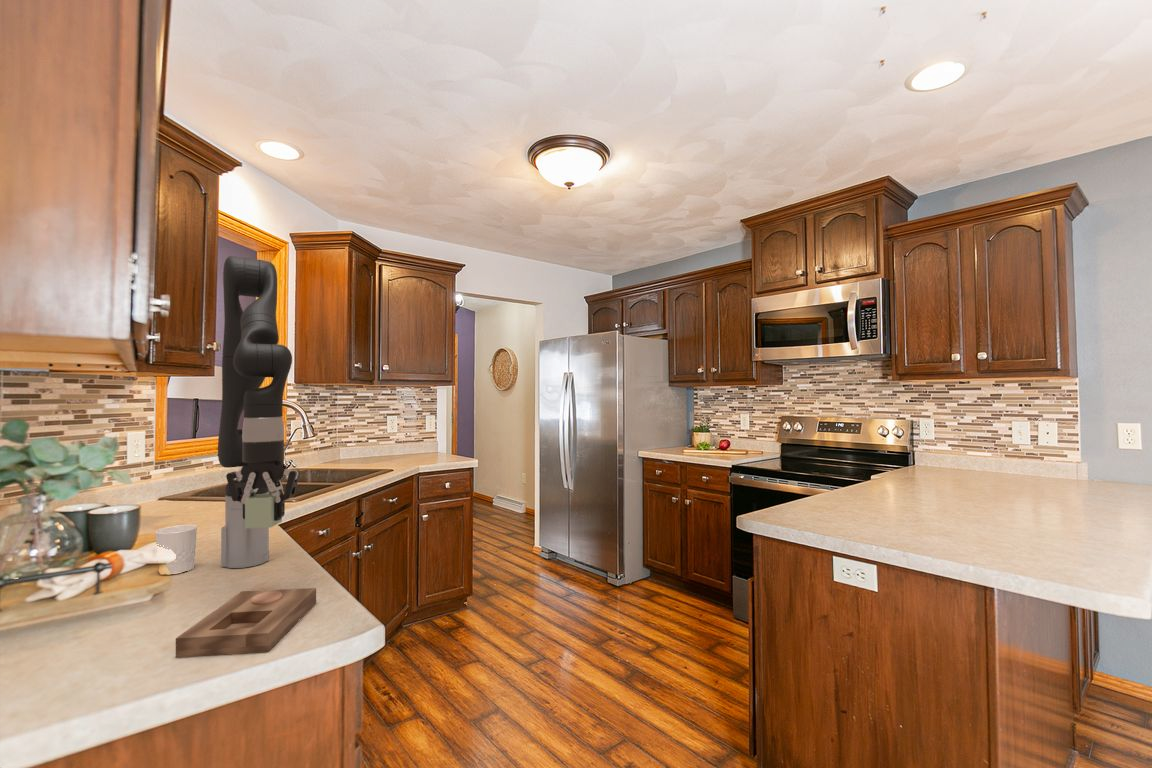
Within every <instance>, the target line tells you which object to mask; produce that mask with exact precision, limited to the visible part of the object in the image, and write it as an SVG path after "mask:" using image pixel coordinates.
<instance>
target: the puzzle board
mask: <svg viewBox="0 0 1152 768" xmlns="http://www.w3.org/2000/svg"><path fill="white" fill-rule="evenodd" d="M316 604H317V587H305V588H286V589H285V588H283V589H267V590H266V589H265V590H250V591H249V590H246V591H245V590H244V591H240V592H239V593H238V594H236V595H234V597H232V598H230V599H229V600H228V601H226V602H225V603H224V604H222V605H220V606H219V607H218V608H217V609H215V610H213V611H212V612H211V613H209V614H207V615H206V616H205V617H204V618H202V619H200V621H198V622H197V623H195V624H194V625H192V626H191V627H190V628H188V629H187V630H185V631H183V633H181V634H179V635H178V636H177V637H175V658H189V657H203V656H206V657H207V656H219V655H235V654H236V655H238V654H239V655H240V654H253V653H254V654H255V653H268V652H270V651H271V650H272V649H273V648H274V647H275V646H276V645H277V644H278V643H279V642H280V641H281V640H280V639H281V638H282V637H283V636H284V635H285V636H286V635H287V634H288V632H290V630H291V629H292V628H293V627H295V625H296V624H297V623H298V622H299V621H300V620H301V619H302V618H303V617H304V616H305V615H306V614H307V613H308V612H309V611H310V610H311V609H312V608H314V606H315V605H316ZM304 614H305V615H304ZM300 618H301V619H300ZM299 619H300V620H299ZM298 620H299V621H298ZM294 624H295V625H294ZM291 627H292V628H291ZM285 636H284V637H285ZM282 639H283V638H282ZM279 640H280V641H279ZM278 641H279V642H278ZM277 642H278V643H277Z"/></svg>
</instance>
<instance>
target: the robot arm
mask: <svg viewBox="0 0 1152 768" xmlns="http://www.w3.org/2000/svg"><path fill="white" fill-rule="evenodd" d="M222 270H223V272H222V280H223V281H222V282H223V283H222V284H223V285H222V286H223V309H224V310H223V311H224V314H223V315H224V316H223V317H224V326H223V327H224V328H223V329H224V330H223V343H222V344H223V345H222V357H221V358H222V361H221V378H222V379H221V387H222V388H221V389H222V390H221V393H222V394H221V411H220V412H221V413H220V420H219V430H218V431H219V432H218V440H217V458H218V462H219V464H220V466H221V467H223V468H230V469H231V468H239V467H241V469H240V470H238V471H237V470H236V471H232V472H228V473H227V474H226V475H225V477H226V481H227V483H226V485H225V487H224V488H225V489H224V490H225V491H224V493H225V494H224V495H225V497H224V499H225V502H224V503H225V505H224V506H225V514H224V515H225V517H224V518H225V520H224V521H225V524H224V526H222V527H221V529H220V530H221V532H220V535H221V537H220V538H221V540H220V542H221V544H220V547H221V548H220V550H221V552H220V554H221V555H220V557H221V558H220V559H221V561H220V563H221V565H220V567H221V568H229V569H242V568H243V569H244V568H251V567H254V566H259V565H261V564H264V563H266V562H268V561H269V558H270V527H268V528H245V499H246V498H249V497H251V496H254V495H256V494H272V496H273V497H274V501H275V502H276V503H274V521H279V520H280V519H282V520H283V517H285V514H286V513H285V510H286V507H285V506H286V505H285V503H286V500H289V499H291V498H293V497H294V496H295V495H296V490H297V486H298V482H299V478H300V474H301V471H300V470H299V469H294V470H293V469H290V468H287V467H286V465H285V426H284V425H285V424H284V418H283V415H284V414H283V400H284V392H285V387H286V382H287V379H288V376H289V374H290V371H291V367H292V363H293V355H292V352H291V350H290V349H289V348H288V347H287V346H286V345H283V344H279V338H280V336H279V330H278V322H277V304H278V272H277V269H276V267H275V264H273V262H270V261H268V260H263V259H257V258H249V257H244V256H243V257H242V256H233V255H231V256H227V257H226V259H225V260H224V264H223V269H222ZM240 296H243V297H252V298H256V299H255V300H254V301H252V302H251V303H250V304H249V305H247V307H246V308H245V309H244V310H243V308H242V304H241V302H240ZM266 378H272V380H271V382H270V383H269V384H268V385H267V386H263V387H261V386H262V384H263V383H264V382H265V379H266ZM242 414H243V423H242V428H240V429H238V427H239V422H240V420H241V417H242ZM284 475H285V480H287V481H286V485H285V489H284V487H283V484H282V482H281V480H282V478H283V477H284Z"/></svg>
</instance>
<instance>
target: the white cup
mask: <svg viewBox="0 0 1152 768" xmlns="http://www.w3.org/2000/svg"><path fill="white" fill-rule="evenodd" d="M197 530H198V525H195V524H182V525H181V524H180V525H174V526H168V527H163V528H160V529H157V530H156V531H155V545H156V544H159V545H157V546H159V547H163V545H164V547H163V548H165V549H168V550H169V549H171V550H172V551H173V552H174V553H175V554H176V559H175V560H174V561H172V562H170V563H167V564H166V565H165V566H166V567H167V568H168V570H169V571H170V573H174V572H184V571H188V570H190V571H192V570H193V569H194V568H195V557H196V549H197V534H198V532H197ZM160 545H161V546H160ZM167 547H168V548H167ZM191 569H192V570H191ZM188 572H189V571H188Z"/></svg>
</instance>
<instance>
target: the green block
mask: <svg viewBox="0 0 1152 768" xmlns="http://www.w3.org/2000/svg"><path fill="white" fill-rule="evenodd" d="M274 503H276V502H275V501H274V497H273V496H272V494H271V493H269V494H256V495H254V496H251V497H249V498H246V499H245V528H268V527H269V528H273V527H274V526H277V525H278V524H280V523H282V522H283V518H282V519H280V520H279V521H274Z"/></svg>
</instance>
